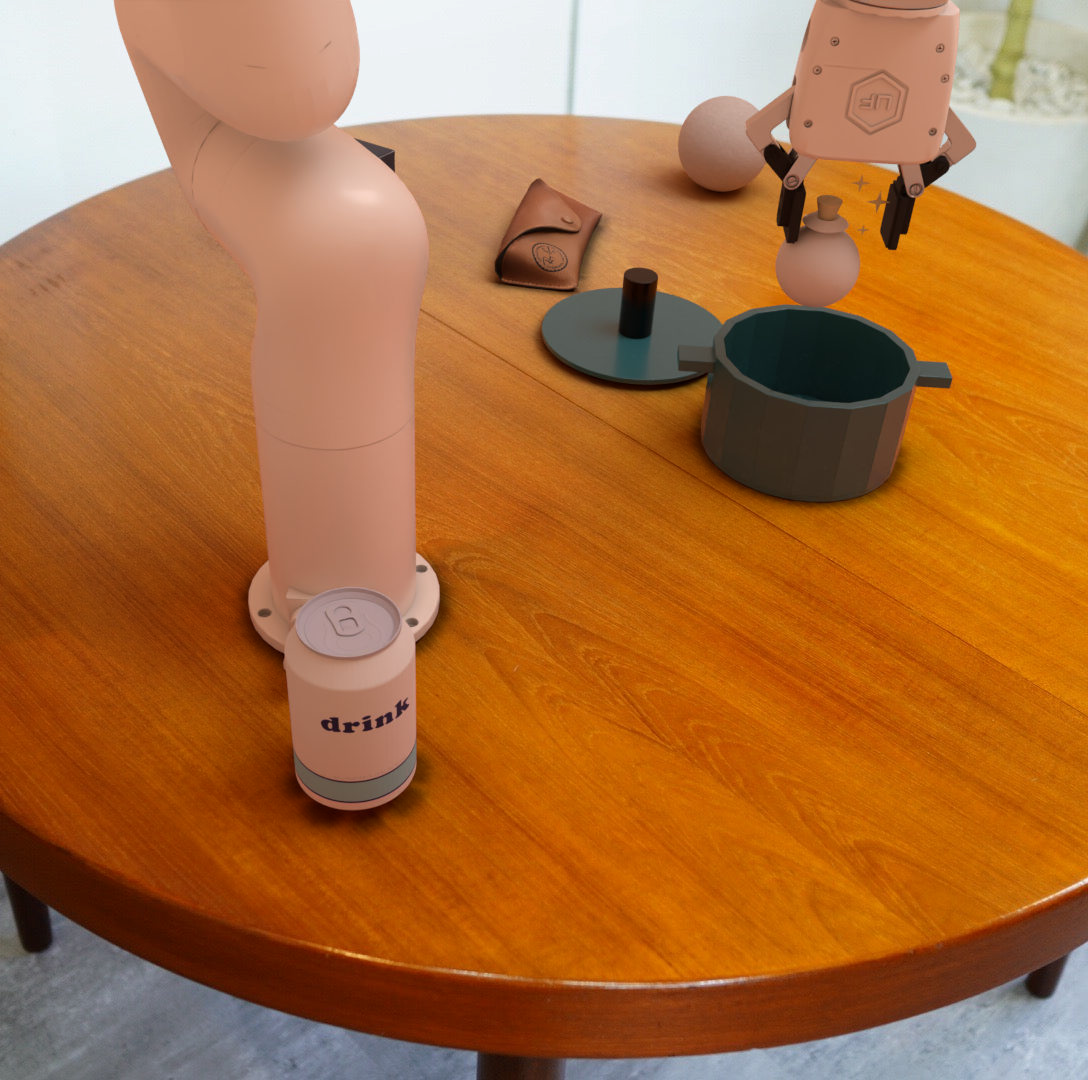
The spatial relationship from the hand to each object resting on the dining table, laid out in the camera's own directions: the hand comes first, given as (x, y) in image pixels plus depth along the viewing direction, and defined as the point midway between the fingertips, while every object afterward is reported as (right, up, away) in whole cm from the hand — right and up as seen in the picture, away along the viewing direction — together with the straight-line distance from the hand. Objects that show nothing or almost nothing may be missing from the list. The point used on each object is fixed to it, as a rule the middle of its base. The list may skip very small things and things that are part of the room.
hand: (839, 236), depth 95 cm
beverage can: (-32, -36, -18) cm, 51 cm away
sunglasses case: (-21, +7, +38) cm, 44 cm away
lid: (-13, -4, +23) cm, 27 cm away
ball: (-2, +17, +52) cm, 55 cm away
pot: (-1, -14, +12) cm, 18 cm away
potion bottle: (-1, -4, +3) cm, 6 cm away
